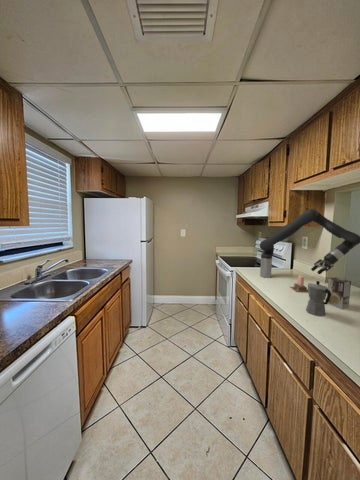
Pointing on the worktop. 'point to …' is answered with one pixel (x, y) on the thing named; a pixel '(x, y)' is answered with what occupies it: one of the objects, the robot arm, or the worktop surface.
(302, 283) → the salmon pink brick
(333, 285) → the coffee box
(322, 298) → the coffeepot
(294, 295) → the worktop surface
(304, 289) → the holder
